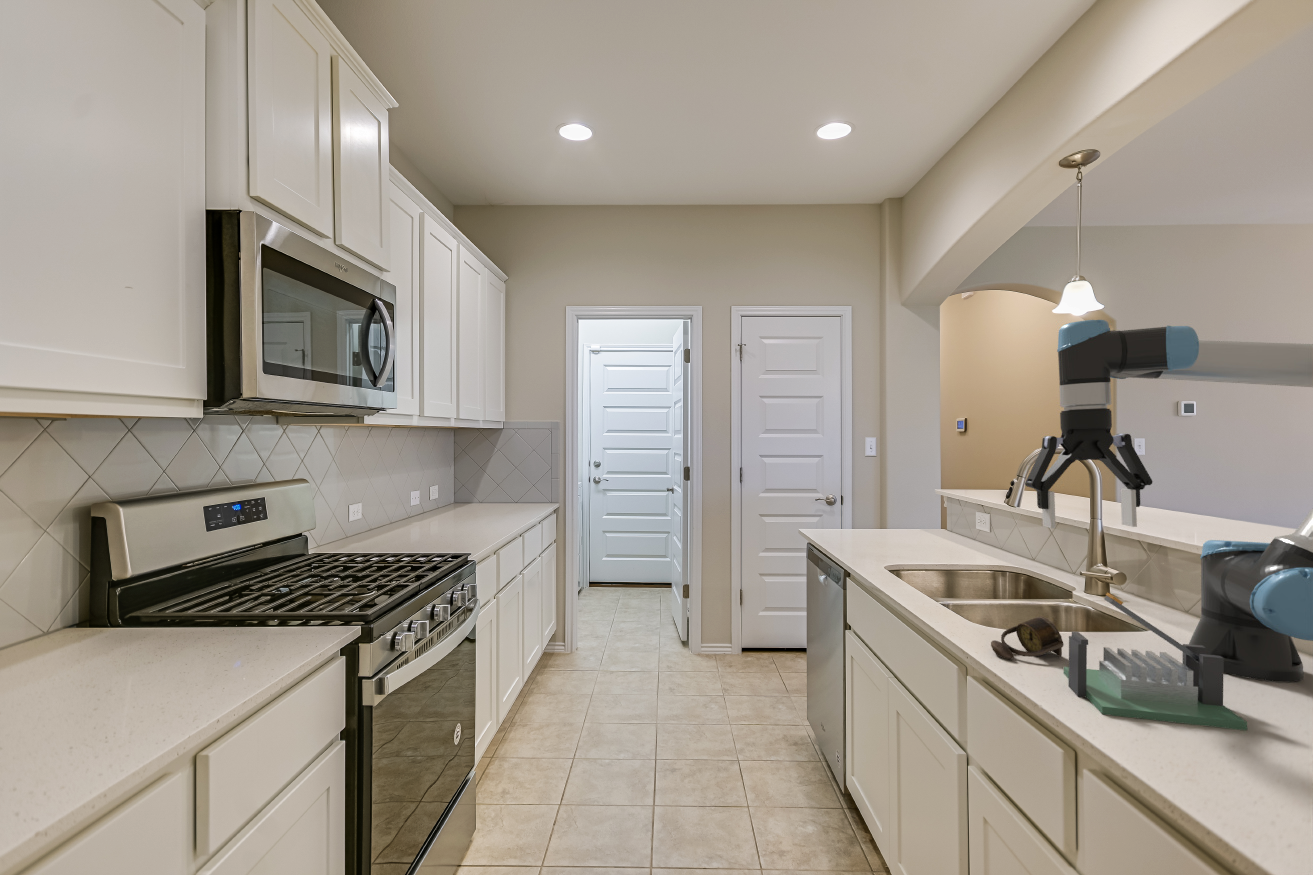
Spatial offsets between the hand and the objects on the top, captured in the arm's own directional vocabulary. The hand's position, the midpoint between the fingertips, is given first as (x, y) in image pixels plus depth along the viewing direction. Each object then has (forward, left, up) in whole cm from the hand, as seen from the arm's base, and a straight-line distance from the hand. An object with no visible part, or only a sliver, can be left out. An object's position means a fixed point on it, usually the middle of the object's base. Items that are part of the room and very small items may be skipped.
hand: (1088, 526), depth 108 cm
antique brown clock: (+8, -7, -27) cm, 29 cm away
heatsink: (-4, +10, -25) cm, 27 cm away
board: (-4, +10, -26) cm, 28 cm away
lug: (+5, +10, -26) cm, 29 cm away
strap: (-5, +10, -15) cm, 19 cm away
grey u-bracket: (-12, +10, -25) cm, 30 cm away
